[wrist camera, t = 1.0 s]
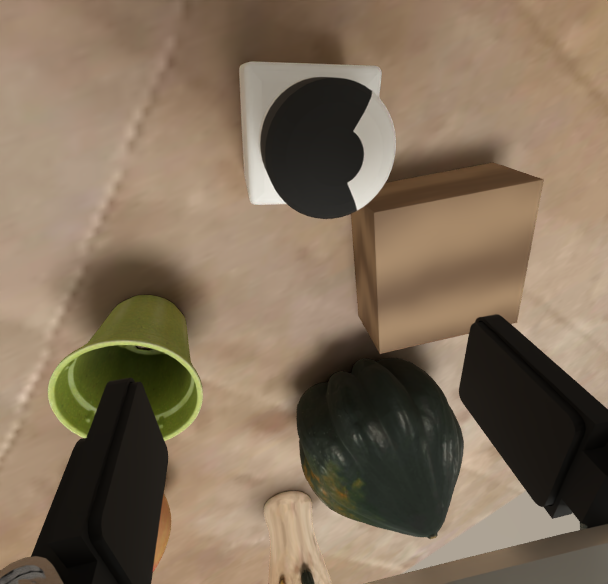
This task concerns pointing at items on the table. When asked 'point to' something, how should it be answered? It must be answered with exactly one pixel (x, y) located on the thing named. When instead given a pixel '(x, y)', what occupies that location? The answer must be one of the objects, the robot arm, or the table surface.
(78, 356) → the plant pot
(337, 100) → the medicine bottle
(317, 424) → the squash
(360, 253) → the walnut block
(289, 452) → the table surface
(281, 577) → the silver metal vase
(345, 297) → the table surface
